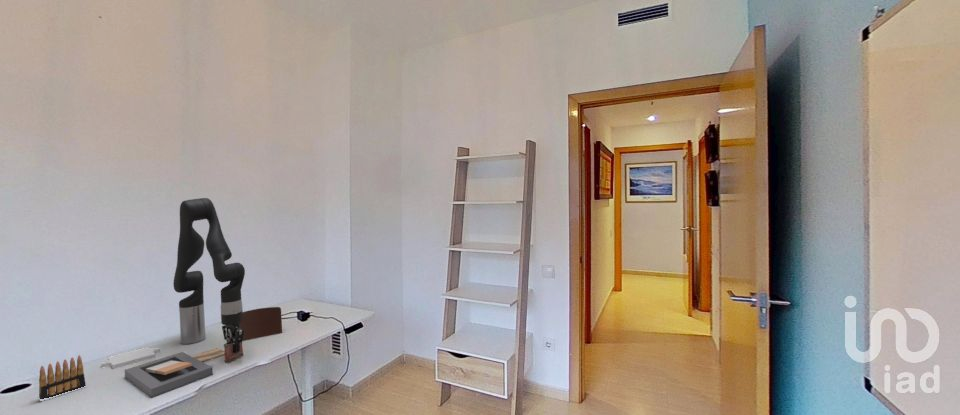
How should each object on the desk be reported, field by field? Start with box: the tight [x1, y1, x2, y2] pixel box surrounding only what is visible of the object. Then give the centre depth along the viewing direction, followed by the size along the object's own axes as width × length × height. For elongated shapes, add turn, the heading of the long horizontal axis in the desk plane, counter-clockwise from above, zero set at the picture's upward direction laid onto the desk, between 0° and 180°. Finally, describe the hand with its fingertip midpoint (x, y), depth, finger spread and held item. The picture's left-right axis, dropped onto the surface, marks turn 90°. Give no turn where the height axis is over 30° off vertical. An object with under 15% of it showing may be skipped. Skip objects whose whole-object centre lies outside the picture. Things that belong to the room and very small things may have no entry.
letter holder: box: [239, 306, 283, 342], centre depth 179 cm, size 10×20×14 cm, turn 123°
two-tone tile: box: [146, 360, 192, 375], centre depth 138 cm, size 20×8×1 cm, turn 58°
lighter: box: [223, 335, 244, 364], centre depth 152 cm, size 8×3×10 cm, turn 168°
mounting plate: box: [100, 346, 161, 370], centre depth 154 cm, size 18×13×2 cm
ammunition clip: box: [38, 355, 87, 399], centre depth 127 cm, size 11×2×12 cm, turn 153°
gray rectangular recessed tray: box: [123, 351, 214, 398], centre depth 138 cm, size 28×18×3 cm, turn 58°
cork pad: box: [190, 347, 225, 363], centre depth 155 cm, size 10×10×1 cm
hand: (233, 351), depth 152 cm, fingers closed on lighter, 4 cm apart
